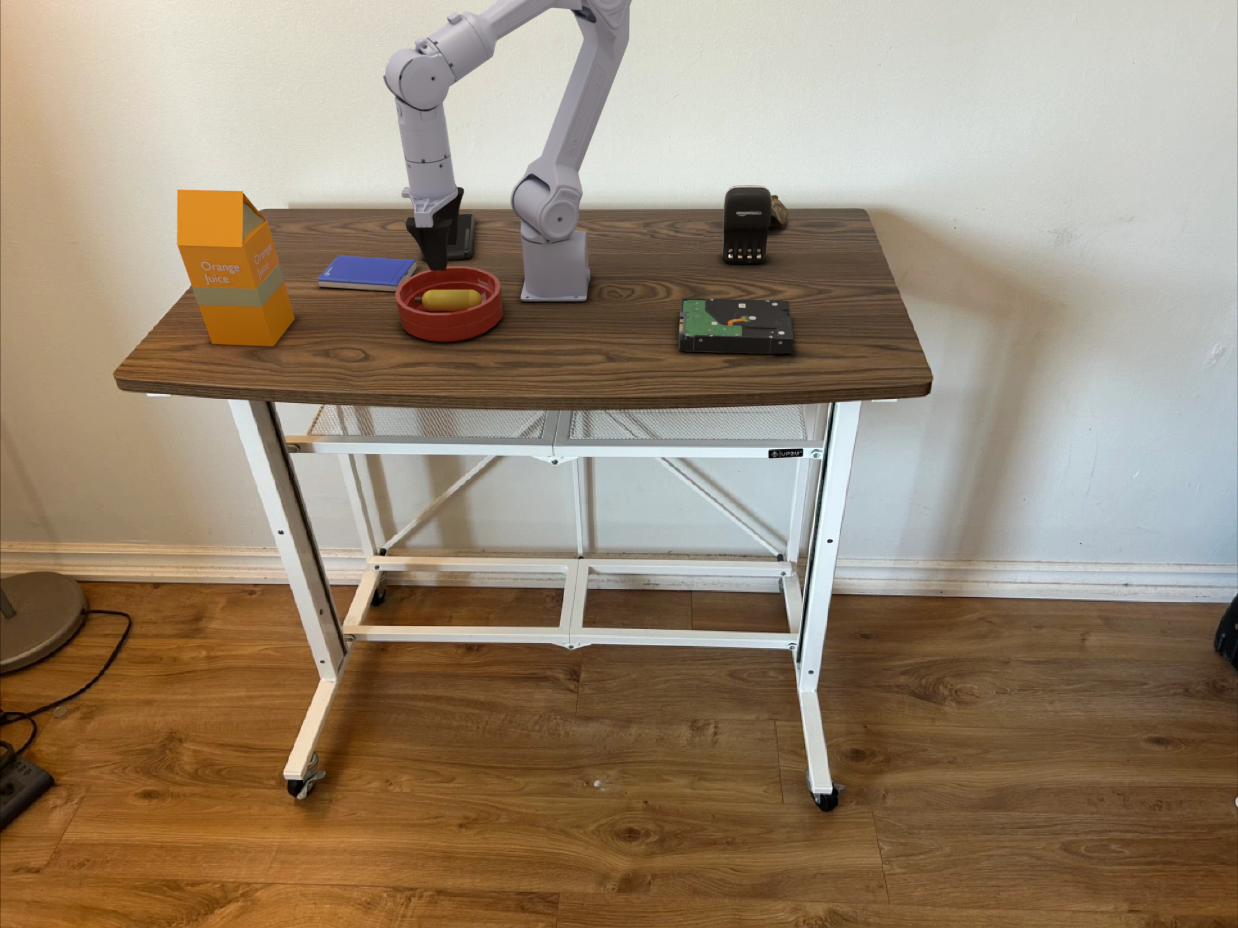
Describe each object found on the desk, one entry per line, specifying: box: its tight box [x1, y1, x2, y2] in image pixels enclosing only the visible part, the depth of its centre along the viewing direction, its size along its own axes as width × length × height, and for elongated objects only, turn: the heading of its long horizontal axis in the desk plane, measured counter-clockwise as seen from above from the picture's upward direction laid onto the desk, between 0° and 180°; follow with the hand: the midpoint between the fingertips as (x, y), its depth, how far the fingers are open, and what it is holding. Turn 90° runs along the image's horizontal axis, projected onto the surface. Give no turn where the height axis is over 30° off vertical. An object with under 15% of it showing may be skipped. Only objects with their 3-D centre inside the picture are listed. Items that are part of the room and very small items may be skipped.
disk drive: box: [678, 297, 795, 355], centre depth 119 cm, size 10×3×15 cm
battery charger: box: [721, 184, 772, 265], centre depth 133 cm, size 7×4×11 cm, turn 87°
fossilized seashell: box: [769, 194, 789, 228], centre depth 145 cm, size 8×7×10 cm
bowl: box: [394, 265, 504, 343], centre depth 123 cm, size 14×14×4 cm
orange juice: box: [176, 189, 296, 347], centre depth 117 cm, size 8×9×20 cm
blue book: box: [317, 255, 418, 292], centre depth 134 cm, size 2×8×12 cm
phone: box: [420, 213, 476, 262], centre depth 144 cm, size 8×1×15 cm
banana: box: [415, 290, 482, 312], centre depth 124 cm, size 9×3×3 cm
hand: (443, 256), depth 119 cm, fingers open, 7 cm apart
